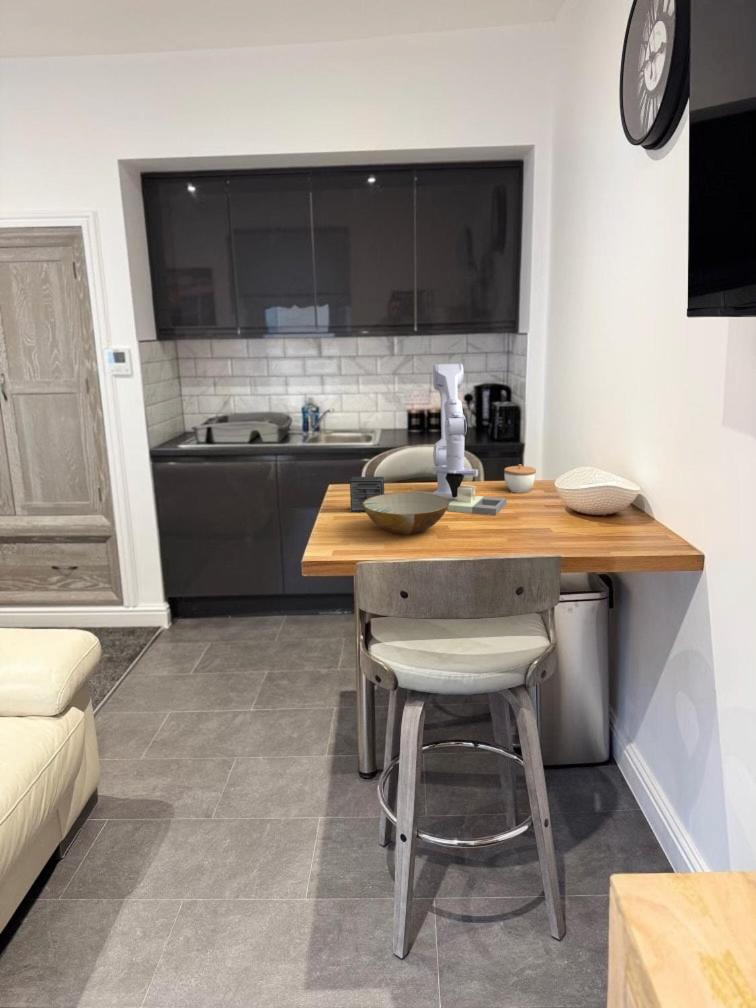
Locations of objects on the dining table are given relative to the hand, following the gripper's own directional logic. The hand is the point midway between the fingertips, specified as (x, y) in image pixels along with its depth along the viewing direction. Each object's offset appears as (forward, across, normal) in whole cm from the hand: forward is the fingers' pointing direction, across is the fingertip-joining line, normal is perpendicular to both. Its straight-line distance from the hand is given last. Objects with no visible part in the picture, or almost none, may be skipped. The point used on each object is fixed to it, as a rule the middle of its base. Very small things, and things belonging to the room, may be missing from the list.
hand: (454, 496), depth 234 cm
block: (+1, +4, 0) cm, 4 cm away
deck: (+3, -1, 0) cm, 3 cm away
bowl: (+3, -6, -30) cm, 31 cm away
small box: (+3, -25, -14) cm, 29 cm away
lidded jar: (+3, +15, +27) cm, 31 cm away
